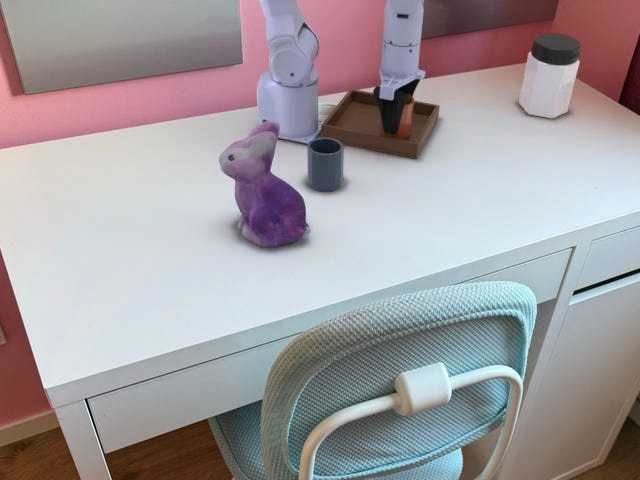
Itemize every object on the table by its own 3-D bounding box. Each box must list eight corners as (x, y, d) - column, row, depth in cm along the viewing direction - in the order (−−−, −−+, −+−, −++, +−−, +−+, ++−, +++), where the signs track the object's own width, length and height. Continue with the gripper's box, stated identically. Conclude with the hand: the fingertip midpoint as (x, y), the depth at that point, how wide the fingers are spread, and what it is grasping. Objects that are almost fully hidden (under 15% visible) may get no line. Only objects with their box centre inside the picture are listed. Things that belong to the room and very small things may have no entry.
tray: (321, 140, 119) (321, 125, 117) (349, 102, 129) (350, 88, 128) (416, 159, 116) (418, 144, 114) (438, 119, 127) (439, 105, 125)
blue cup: (302, 187, 108) (302, 150, 104) (315, 171, 111) (314, 134, 107) (335, 195, 107) (336, 157, 103) (347, 177, 111) (348, 141, 106)
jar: (546, 123, 129) (561, 54, 120) (510, 106, 132) (523, 39, 124) (575, 109, 133) (592, 42, 125) (539, 94, 137) (553, 28, 129)
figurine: (222, 218, 101) (211, 115, 90) (293, 207, 104) (291, 106, 93) (239, 257, 94) (229, 151, 84) (314, 244, 98) (313, 140, 87)
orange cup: (375, 138, 118) (377, 102, 114) (384, 124, 122) (386, 89, 118) (406, 144, 117) (409, 108, 113) (414, 130, 121) (417, 95, 117)
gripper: (415, 61, 103) (407, 149, 113) (438, 27, 113) (429, 111, 123) (368, 53, 104) (364, 141, 114) (395, 20, 114) (389, 103, 124)
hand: (395, 125), depth 118 cm, fingers closed on orange cup, 5 cm apart
